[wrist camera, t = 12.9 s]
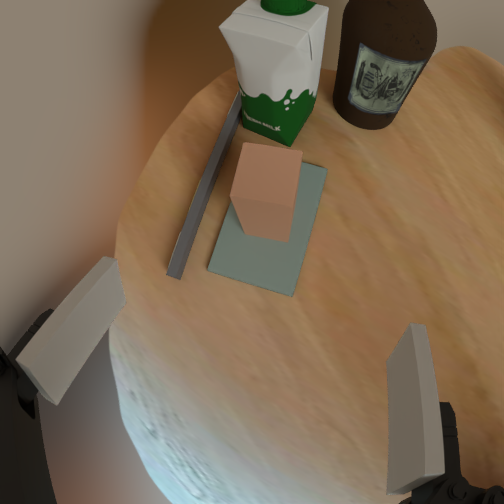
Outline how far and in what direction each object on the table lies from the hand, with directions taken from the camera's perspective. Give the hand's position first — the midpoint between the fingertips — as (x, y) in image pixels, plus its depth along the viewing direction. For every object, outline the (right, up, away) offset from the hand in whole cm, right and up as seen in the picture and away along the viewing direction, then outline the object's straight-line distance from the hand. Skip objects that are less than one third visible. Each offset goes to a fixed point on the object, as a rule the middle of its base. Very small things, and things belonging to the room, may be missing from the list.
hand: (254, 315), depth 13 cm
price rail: (-5, +13, +26) cm, 29 cm away
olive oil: (+16, +24, +26) cm, 39 cm away
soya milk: (+3, +20, +27) cm, 34 cm away
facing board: (+2, +7, +24) cm, 25 cm away
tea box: (+2, +7, +23) cm, 24 cm away
